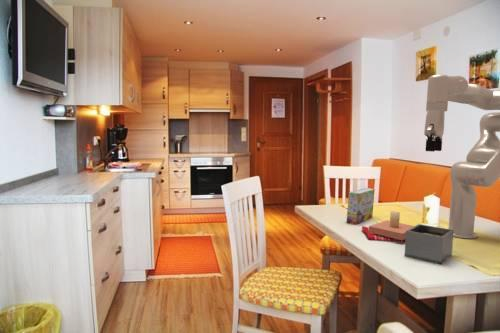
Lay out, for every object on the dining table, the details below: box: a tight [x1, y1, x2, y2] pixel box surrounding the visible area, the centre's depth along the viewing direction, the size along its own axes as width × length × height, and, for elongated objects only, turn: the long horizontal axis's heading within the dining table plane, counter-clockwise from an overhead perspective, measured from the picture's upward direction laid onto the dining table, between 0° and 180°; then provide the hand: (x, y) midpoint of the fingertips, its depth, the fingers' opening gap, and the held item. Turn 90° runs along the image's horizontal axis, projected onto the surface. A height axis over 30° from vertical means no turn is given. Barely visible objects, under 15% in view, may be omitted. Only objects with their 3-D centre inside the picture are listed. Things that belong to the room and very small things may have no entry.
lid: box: [368, 210, 415, 240], centre depth 159 cm, size 16×14×9 cm
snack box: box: [346, 187, 376, 226], centre depth 188 cm, size 21×6×15 cm, turn 143°
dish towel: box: [361, 225, 406, 244], centre depth 160 cm, size 17×24×3 cm
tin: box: [403, 223, 454, 265], centre depth 136 cm, size 14×12×9 cm
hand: (433, 151), depth 152 cm, fingers open, 9 cm apart
